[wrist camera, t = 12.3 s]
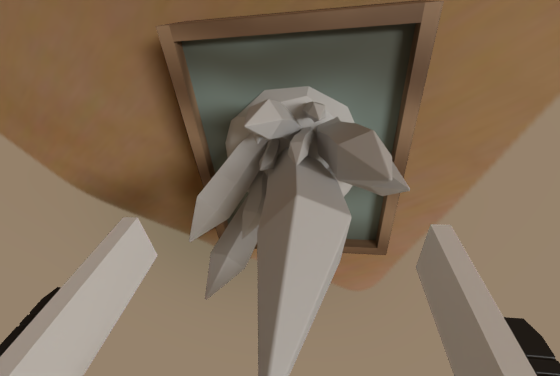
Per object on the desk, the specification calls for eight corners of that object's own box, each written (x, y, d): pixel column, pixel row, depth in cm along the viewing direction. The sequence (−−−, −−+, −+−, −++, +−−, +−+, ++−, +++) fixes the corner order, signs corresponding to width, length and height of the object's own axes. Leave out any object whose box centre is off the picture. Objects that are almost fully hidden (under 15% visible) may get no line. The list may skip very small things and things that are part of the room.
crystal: (188, 173, 21) (11, 404, 9) (301, 30, 14) (192, 194, 2) (281, 239, 24) (239, 479, 12) (411, 145, 17) (609, 479, 5)
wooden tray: (184, 21, 17) (155, 26, 14) (420, 0, 15) (443, 0, 12) (232, 220, 28) (221, 246, 25) (378, 224, 25) (386, 255, 22)
